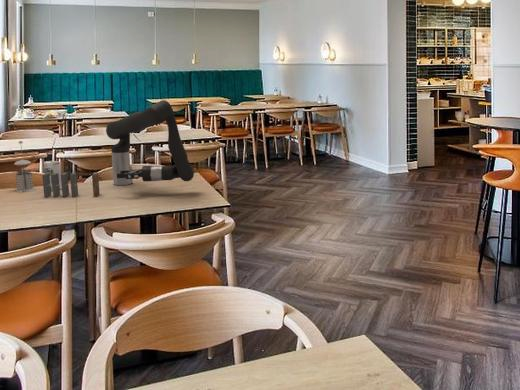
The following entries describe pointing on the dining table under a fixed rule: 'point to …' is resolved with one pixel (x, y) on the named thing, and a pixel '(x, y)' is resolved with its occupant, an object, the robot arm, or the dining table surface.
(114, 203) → the dining table surface
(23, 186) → the french press
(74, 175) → the charcoal tile
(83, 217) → the dining table surface
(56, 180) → the charcoal tile
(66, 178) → the charcoal tile
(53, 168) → the syrup box
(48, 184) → the charcoal tile
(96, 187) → the walnut tile
